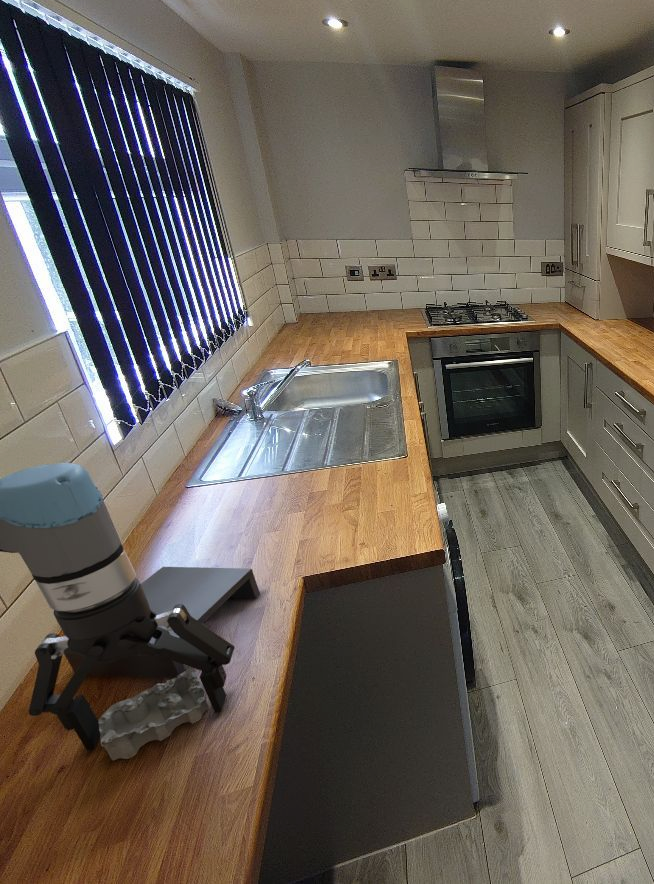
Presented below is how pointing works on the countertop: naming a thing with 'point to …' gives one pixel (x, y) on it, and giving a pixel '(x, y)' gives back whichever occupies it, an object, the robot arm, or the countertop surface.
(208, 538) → the countertop surface
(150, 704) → the egg carton
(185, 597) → the shelf
